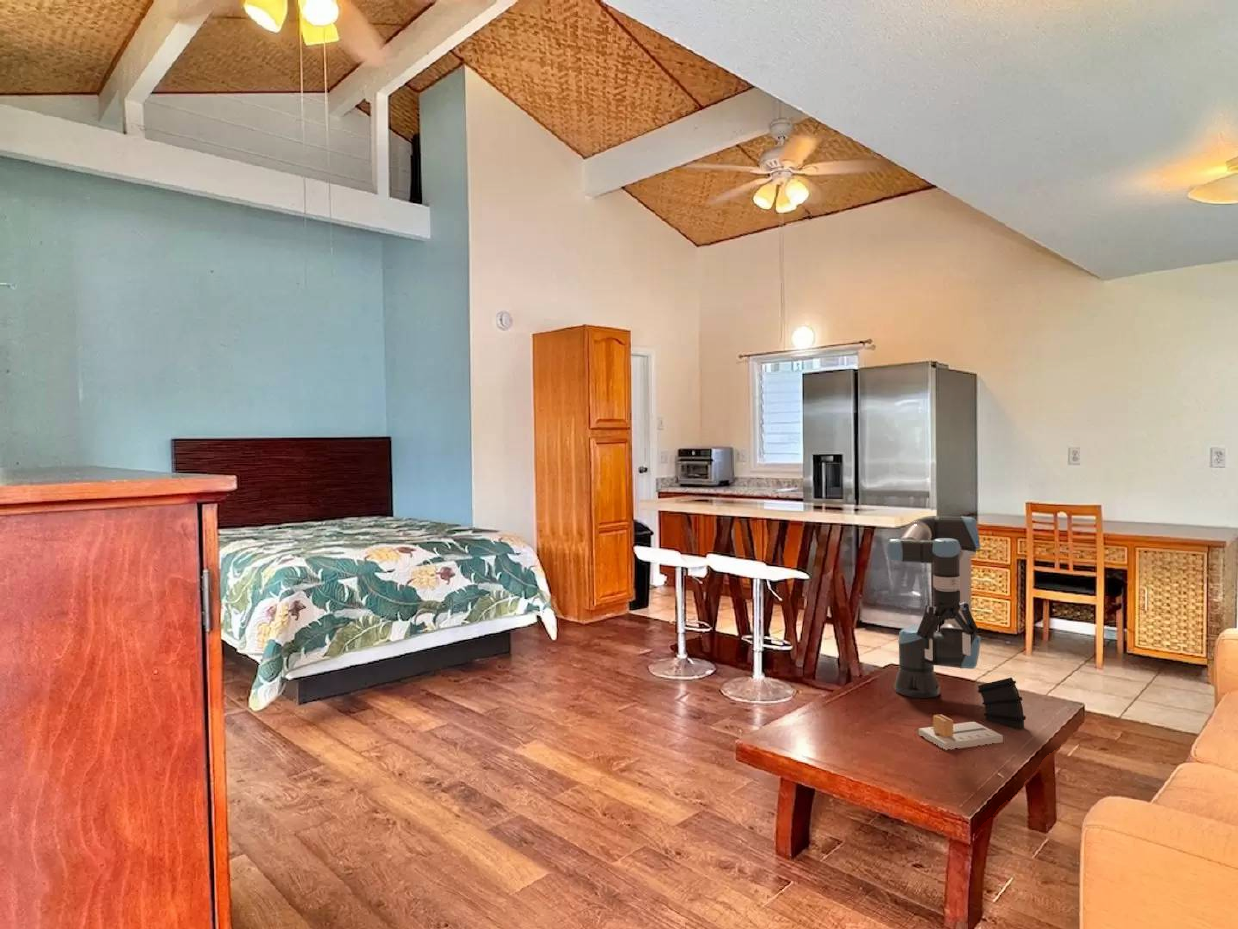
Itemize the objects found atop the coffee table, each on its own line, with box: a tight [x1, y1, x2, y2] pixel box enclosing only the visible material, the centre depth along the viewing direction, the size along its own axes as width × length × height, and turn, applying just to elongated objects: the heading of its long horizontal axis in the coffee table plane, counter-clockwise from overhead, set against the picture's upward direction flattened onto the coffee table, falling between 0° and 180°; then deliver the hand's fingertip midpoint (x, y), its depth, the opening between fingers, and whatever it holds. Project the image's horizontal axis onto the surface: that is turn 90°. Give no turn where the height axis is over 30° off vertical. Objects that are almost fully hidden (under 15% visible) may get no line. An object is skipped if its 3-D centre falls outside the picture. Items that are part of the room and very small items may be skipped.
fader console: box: [918, 721, 1004, 751], centre depth 220 cm, size 12×20×2 cm, turn 104°
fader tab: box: [932, 713, 954, 737], centre depth 218 cm, size 5×3×5 cm, turn 14°
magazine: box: [977, 677, 1027, 730], centre depth 231 cm, size 4×13×15 cm, turn 38°
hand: (947, 657), depth 225 cm, fingers open, 13 cm apart
